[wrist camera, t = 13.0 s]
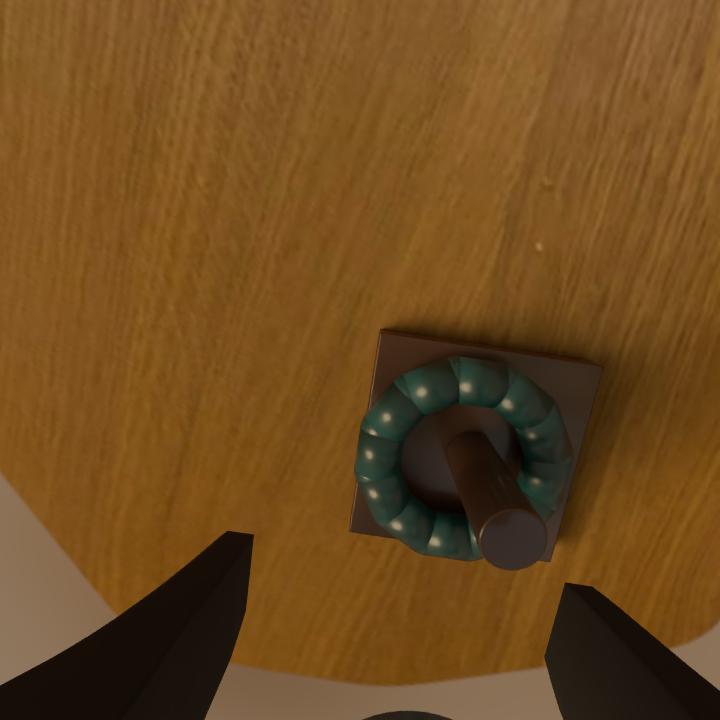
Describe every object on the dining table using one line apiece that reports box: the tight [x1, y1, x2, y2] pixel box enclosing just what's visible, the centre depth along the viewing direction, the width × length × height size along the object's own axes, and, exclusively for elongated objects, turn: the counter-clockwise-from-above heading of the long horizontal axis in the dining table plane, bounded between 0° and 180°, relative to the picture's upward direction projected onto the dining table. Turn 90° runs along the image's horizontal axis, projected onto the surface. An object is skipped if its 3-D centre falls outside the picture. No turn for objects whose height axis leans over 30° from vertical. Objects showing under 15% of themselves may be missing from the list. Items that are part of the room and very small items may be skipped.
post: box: [349, 329, 603, 570], centre depth 16 cm, size 9×9×7 cm
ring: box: [354, 356, 574, 561], centre depth 17 cm, size 8×8×2 cm
